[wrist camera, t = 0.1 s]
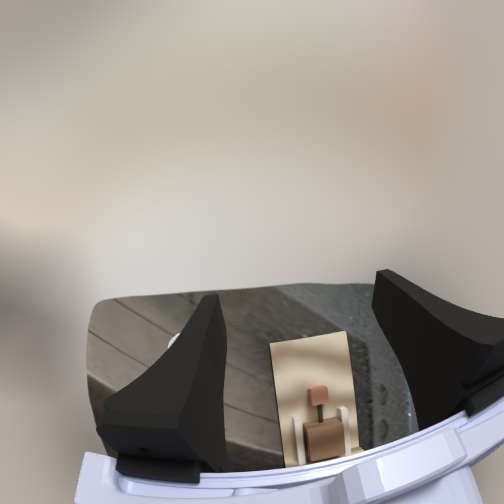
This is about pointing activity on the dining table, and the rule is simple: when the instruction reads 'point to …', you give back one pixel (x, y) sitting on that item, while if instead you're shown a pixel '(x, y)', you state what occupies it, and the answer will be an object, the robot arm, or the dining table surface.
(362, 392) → the dining table surface
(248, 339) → the dining table surface
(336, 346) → the shelf lane
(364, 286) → the dining table surface
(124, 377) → the dining table surface
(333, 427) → the walnut block
